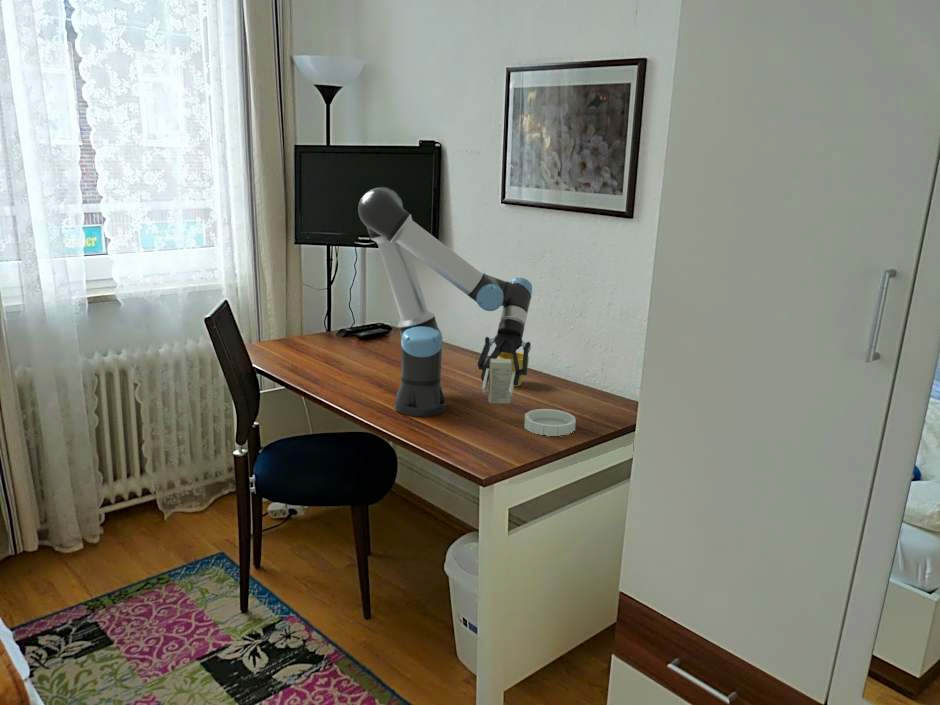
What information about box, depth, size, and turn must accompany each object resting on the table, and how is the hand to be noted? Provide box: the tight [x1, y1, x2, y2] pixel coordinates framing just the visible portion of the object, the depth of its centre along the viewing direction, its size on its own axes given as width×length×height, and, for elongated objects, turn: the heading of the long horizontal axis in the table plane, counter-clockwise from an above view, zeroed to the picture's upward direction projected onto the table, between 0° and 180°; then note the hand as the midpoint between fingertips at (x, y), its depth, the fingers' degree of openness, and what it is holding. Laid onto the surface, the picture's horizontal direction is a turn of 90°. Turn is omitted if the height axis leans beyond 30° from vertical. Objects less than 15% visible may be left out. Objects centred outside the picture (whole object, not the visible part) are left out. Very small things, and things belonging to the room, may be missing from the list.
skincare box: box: [487, 359, 512, 404], centre depth 211 cm, size 6×4×12 cm
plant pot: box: [497, 351, 530, 387], centre depth 244 cm, size 10×10×10 cm
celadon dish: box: [523, 408, 577, 437], centre depth 206 cm, size 14×14×3 cm
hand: (496, 392), depth 208 cm, fingers closed on skincare box, 7 cm apart
